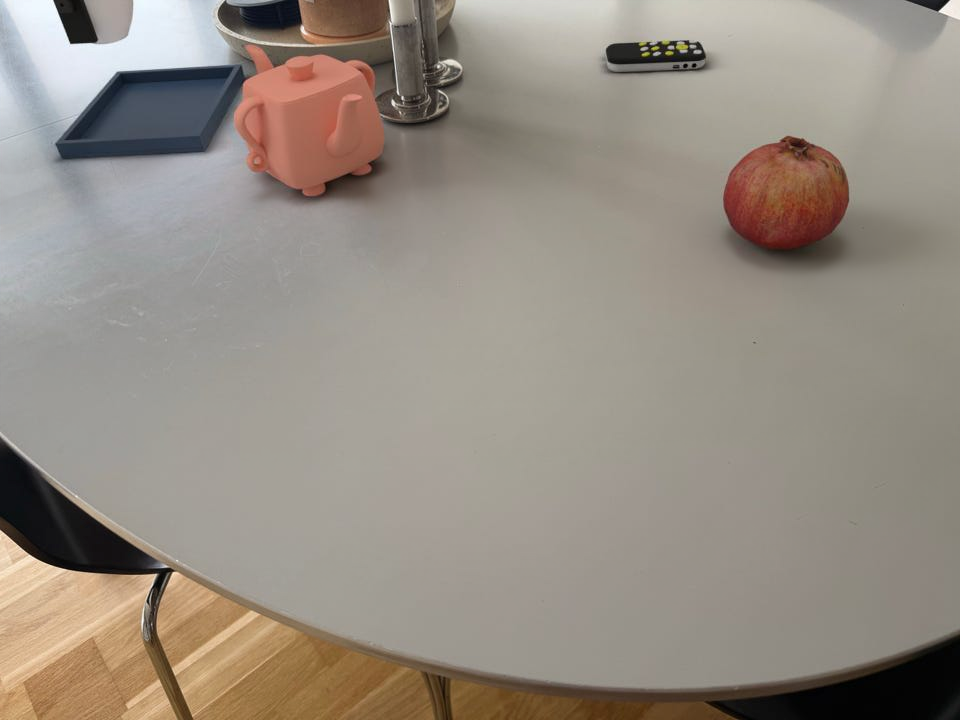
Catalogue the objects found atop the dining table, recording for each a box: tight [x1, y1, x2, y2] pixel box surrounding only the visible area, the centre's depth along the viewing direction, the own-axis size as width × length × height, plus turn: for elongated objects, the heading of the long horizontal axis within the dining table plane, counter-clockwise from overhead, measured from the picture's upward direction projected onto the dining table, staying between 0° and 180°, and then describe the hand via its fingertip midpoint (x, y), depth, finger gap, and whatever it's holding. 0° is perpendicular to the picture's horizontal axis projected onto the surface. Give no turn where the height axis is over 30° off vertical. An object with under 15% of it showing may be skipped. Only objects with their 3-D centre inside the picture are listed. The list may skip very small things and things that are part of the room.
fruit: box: [722, 135, 850, 250], centre depth 73 cm, size 11×10×10 cm
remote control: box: [605, 39, 707, 73], centre depth 108 cm, size 6×13×2 cm, turn 88°
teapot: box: [233, 44, 385, 197], centre depth 88 cm, size 15×17×13 cm
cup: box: [84, 0, 134, 45], centre depth 86 cm, size 8×10×7 cm
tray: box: [54, 63, 246, 160], centre depth 106 cm, size 22×18×2 cm
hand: (101, 25), depth 88 cm, fingers closed on cup, 9 cm apart
